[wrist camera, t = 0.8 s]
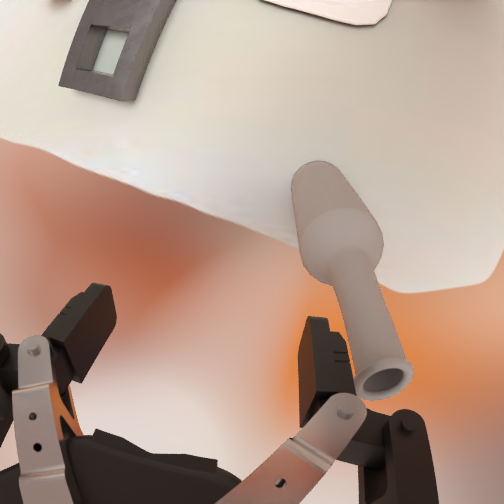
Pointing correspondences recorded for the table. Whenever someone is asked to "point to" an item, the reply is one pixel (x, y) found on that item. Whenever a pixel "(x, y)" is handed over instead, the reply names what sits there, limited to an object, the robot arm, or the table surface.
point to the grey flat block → (134, 51)
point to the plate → (341, 9)
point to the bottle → (350, 274)
